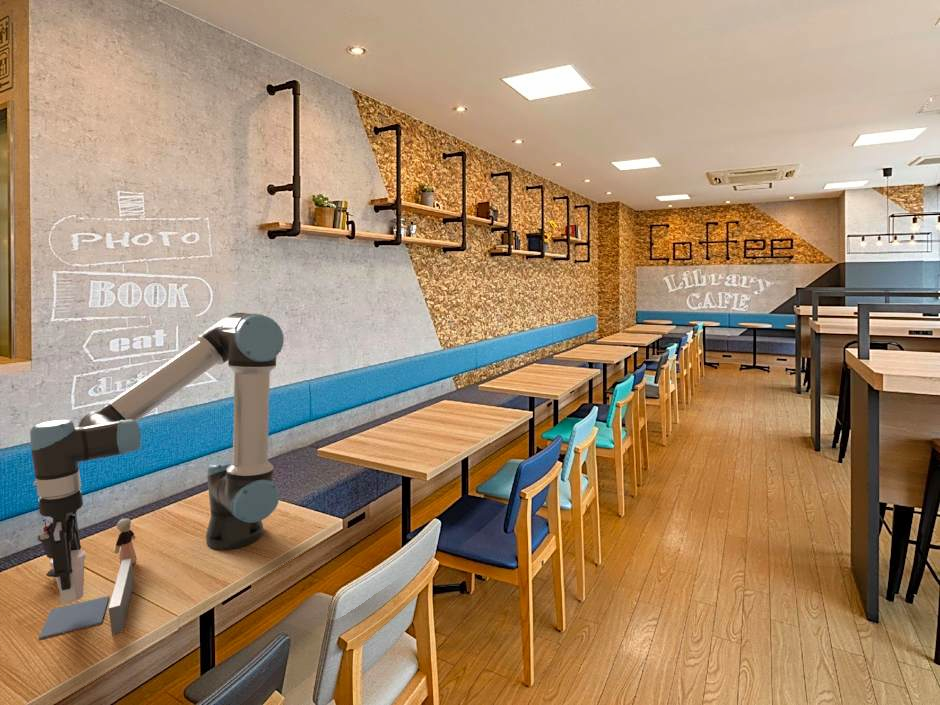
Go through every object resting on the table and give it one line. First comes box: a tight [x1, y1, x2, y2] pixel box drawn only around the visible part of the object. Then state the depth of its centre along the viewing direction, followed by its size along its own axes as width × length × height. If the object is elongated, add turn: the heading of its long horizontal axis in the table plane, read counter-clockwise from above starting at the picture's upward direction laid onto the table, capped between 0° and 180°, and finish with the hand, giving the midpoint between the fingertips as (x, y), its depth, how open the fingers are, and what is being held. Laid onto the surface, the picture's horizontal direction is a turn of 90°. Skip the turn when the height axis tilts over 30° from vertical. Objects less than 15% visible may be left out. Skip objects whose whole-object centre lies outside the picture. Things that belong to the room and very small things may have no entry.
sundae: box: [36, 518, 54, 576], centre depth 140 cm, size 7×7×15 cm
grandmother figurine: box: [114, 518, 138, 569], centre depth 142 cm, size 8×4×13 cm, turn 12°
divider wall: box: [108, 559, 135, 635], centre depth 124 cm, size 2×22×6 cm, turn 26°
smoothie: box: [49, 549, 87, 604], centre depth 119 cm, size 6×6×14 cm
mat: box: [38, 595, 110, 640], centre depth 121 cm, size 11×11×1 cm
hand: (72, 593), depth 120 cm, fingers closed on smoothie, 6 cm apart
